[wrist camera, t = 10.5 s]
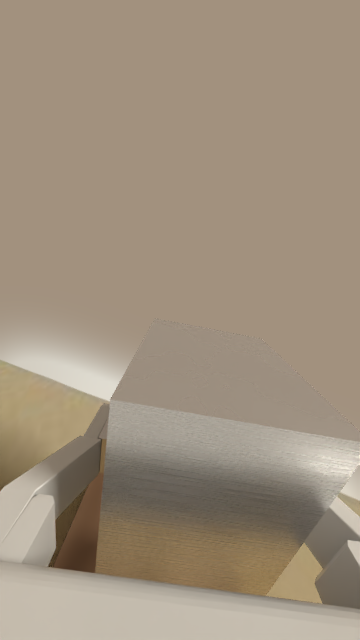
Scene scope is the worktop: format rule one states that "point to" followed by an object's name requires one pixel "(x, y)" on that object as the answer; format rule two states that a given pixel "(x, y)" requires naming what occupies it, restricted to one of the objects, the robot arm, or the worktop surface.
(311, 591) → the worktop surface
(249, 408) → the tall wooden block
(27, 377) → the worktop surface
